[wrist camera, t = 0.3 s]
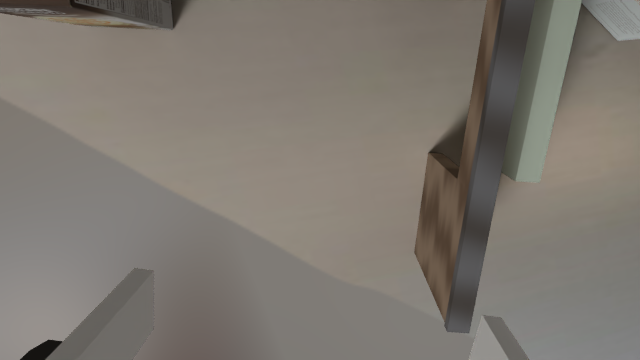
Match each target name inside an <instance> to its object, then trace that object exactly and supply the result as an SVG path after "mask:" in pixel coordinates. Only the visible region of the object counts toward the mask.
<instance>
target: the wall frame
mask: <svg viewBox="0 0 640 360" xmlns="http://www.w3.org/2000/svg"><path fill="white" fill-rule="evenodd" d="M534 5H535V0H487V4H486V10H485V16H484V22H483V28H482V34H481V40H480V46H479V52H478V58H477V64H476V70H475V76H474V82H473V88H472V94H471V100H470V106H469V112H468V119H467V125H466V131H465V137H464V143H463V149H462V155H461V161H460V167H458V166H457V165H456V164H455V163H453V162H452V161H451V160H450V159H449V158H447V157H446V156H445V155H444V154H442V153H428V159H427V166H426V173H425V180H424V187H423V195H422V202H421V209H420V216H419V223H418V231H417V238H416V245H415V252H414V253H415V255H416V257H417V260H418V262H419V264H420V266H421V269H422V271H423V273H424V276H425V278H426V280H427V283H428V285H429V287H430V290H431V292H432V294H433V296H434V299H435V301H436V303H437V306H438V308H439V310H440V313H441V315H442V317H443V319H444V322H445V328H446V330H447V332H458V333H469V331H470V326H471V321H472V316H473V311H474V306H475V301H476V296H477V291H478V286H479V281H480V276H481V271H482V266H483V261H484V256H485V251H486V246H487V241H488V236H489V231H490V226H491V221H492V216H493V211H494V206H495V201H496V196H497V191H498V186H499V181H500V176H501V171H502V166H503V161H504V156H505V151H506V146H507V141H508V136H509V131H510V126H511V121H512V115H513V110H514V105H515V100H516V95H517V90H518V85H519V80H520V75H521V70H522V65H523V60H524V55H525V50H526V45H527V40H528V35H529V30H530V25H531V20H532V15H533V10H534Z"/></svg>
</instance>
